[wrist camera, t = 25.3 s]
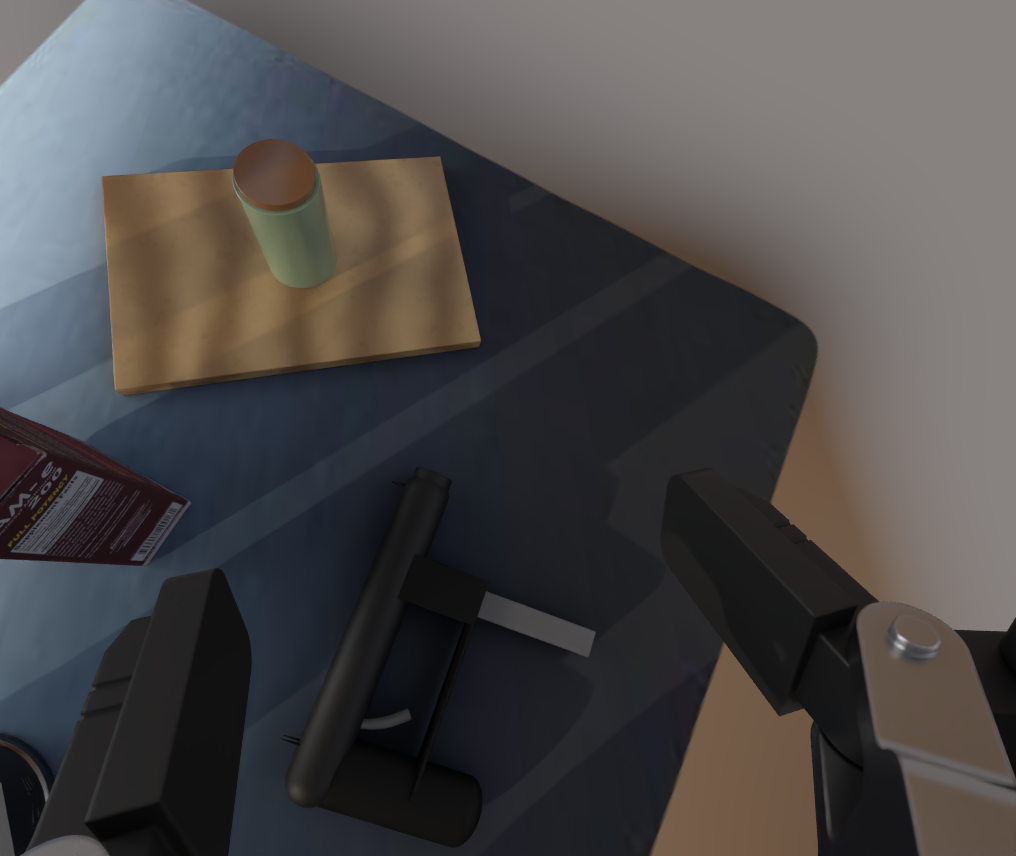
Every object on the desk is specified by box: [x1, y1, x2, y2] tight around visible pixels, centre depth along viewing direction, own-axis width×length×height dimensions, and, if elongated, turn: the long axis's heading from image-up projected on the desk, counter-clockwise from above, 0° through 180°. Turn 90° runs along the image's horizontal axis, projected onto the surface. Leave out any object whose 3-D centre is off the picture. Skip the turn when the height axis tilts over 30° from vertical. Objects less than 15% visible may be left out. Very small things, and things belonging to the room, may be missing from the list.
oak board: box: [102, 157, 481, 395], centre depth 41 cm, size 24×16×1 cm, turn 102°
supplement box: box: [0, 408, 191, 566], centre depth 28 cm, size 9×5×16 cm, turn 62°
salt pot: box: [232, 139, 337, 288], centre depth 36 cm, size 5×5×9 cm
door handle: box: [280, 468, 596, 847], centre depth 35 cm, size 3×20×16 cm
